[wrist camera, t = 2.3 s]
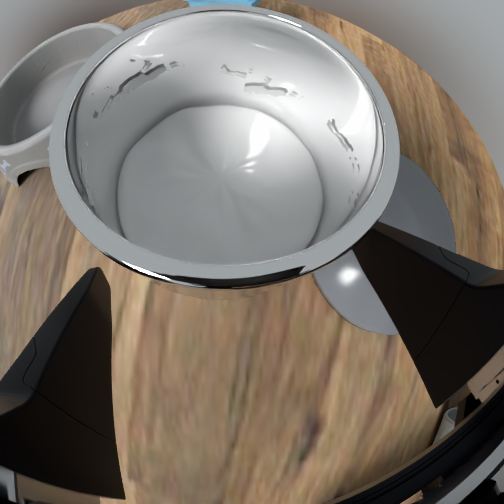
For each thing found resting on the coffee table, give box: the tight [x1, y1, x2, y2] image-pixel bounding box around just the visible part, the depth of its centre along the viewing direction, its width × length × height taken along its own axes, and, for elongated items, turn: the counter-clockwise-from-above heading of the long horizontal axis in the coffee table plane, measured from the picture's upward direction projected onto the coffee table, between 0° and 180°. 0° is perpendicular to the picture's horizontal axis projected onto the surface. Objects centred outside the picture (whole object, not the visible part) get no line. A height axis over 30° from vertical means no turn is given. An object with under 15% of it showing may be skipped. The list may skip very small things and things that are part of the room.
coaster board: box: [312, 153, 456, 335], centre depth 20 cm, size 16×16×1 cm
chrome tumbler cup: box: [49, 4, 400, 300], centre depth 11 cm, size 7×7×15 cm
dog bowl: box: [0, 22, 125, 187], centre depth 16 cm, size 17×18×5 cm
